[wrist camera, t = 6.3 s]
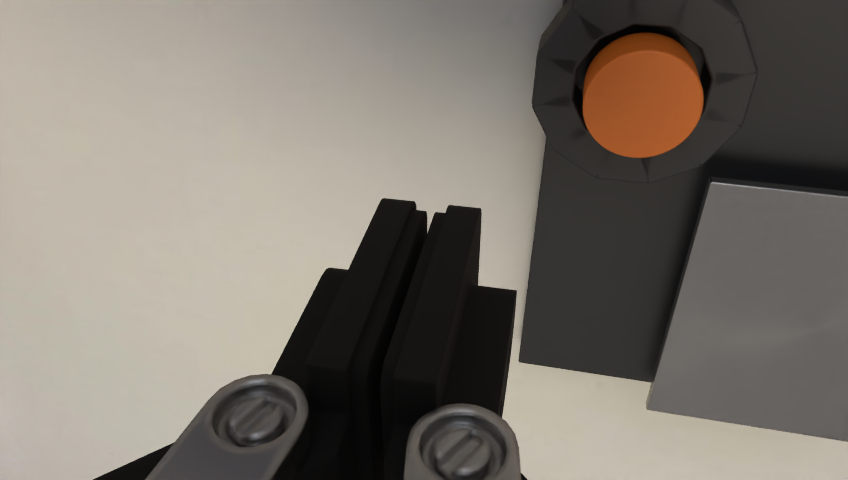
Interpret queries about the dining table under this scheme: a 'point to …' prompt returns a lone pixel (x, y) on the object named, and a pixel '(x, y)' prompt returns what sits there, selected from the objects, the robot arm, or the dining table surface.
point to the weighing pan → (761, 312)
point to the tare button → (642, 95)
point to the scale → (669, 163)
